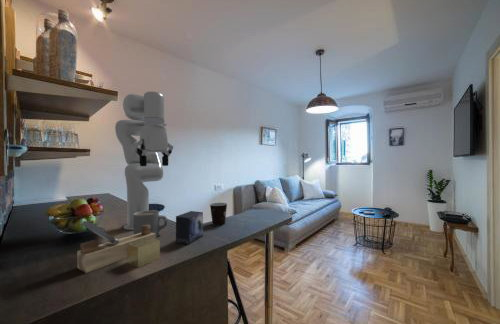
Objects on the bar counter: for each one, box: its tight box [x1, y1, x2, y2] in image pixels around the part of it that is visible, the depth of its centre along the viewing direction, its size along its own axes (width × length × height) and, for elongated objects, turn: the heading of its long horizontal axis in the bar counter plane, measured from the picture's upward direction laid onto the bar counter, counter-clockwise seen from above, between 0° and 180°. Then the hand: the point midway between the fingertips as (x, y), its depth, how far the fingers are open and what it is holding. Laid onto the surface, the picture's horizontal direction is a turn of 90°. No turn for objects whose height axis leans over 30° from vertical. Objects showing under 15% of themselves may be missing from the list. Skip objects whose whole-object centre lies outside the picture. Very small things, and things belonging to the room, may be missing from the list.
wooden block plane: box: [76, 225, 157, 274], centre depth 72 cm, size 6×22×8 cm, turn 148°
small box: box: [175, 210, 204, 245], centre depth 87 cm, size 11×6×10 cm, turn 161°
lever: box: [81, 220, 119, 244], centre depth 67 cm, size 5×1×11 cm
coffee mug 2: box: [209, 202, 228, 226], centre depth 108 cm, size 12×9×10 cm
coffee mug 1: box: [133, 209, 169, 237], centre depth 93 cm, size 13×10×10 cm
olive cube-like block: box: [127, 237, 161, 268], centre depth 68 cm, size 7×6×6 cm
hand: (154, 165), depth 86 cm, fingers open, 9 cm apart
